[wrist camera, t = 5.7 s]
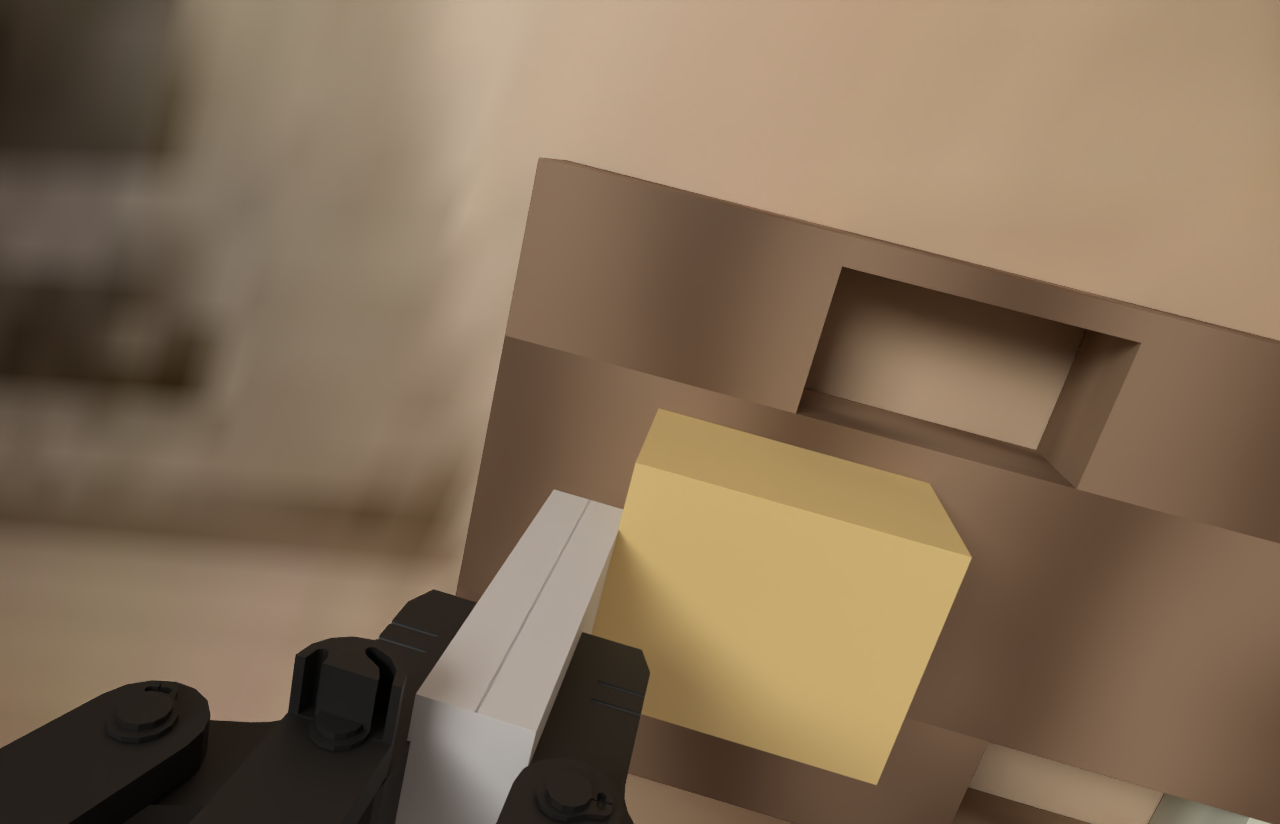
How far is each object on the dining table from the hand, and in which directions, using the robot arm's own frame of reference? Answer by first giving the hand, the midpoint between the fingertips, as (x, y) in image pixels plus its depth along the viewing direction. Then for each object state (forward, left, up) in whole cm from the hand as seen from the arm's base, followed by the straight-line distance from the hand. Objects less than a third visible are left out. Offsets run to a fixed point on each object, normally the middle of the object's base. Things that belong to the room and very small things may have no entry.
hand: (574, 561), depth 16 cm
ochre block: (+4, 0, -3) cm, 5 cm away
